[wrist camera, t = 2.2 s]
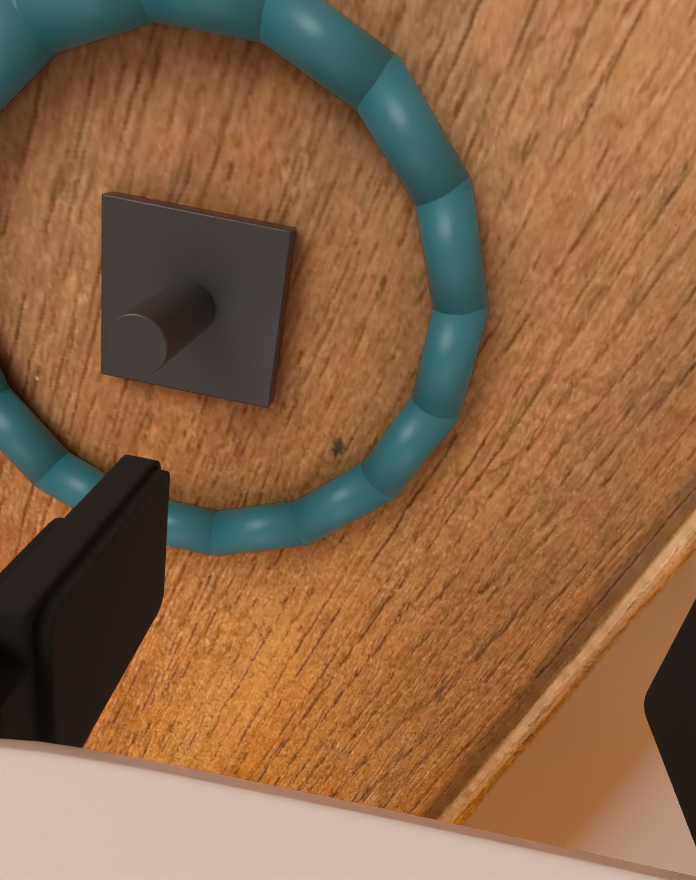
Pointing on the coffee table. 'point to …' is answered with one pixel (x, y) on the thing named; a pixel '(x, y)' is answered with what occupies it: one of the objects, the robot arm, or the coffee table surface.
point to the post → (193, 298)
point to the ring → (420, 172)
